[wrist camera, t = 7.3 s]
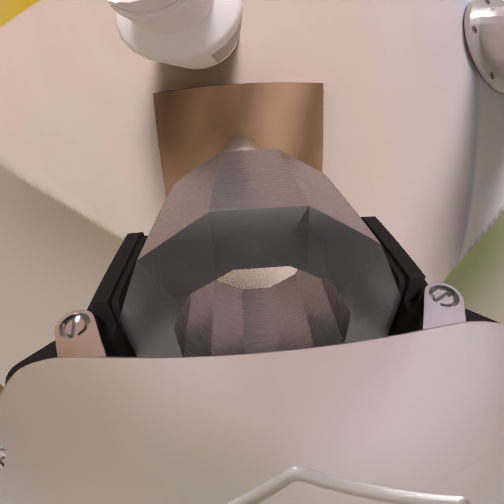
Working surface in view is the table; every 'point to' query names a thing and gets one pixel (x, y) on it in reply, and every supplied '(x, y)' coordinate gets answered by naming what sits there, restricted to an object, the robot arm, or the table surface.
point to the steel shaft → (241, 144)
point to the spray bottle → (180, 29)
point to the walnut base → (238, 123)
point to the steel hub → (257, 264)
